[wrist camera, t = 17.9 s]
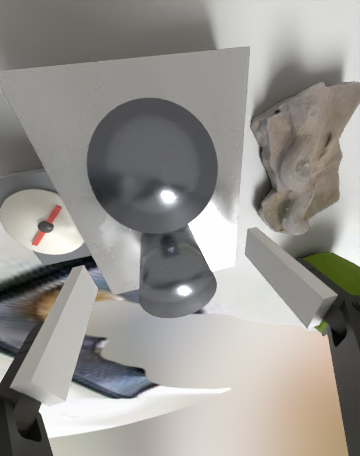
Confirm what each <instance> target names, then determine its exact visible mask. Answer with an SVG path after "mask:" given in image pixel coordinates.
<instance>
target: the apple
mask: <svg viewBox="0 0 360 456" xmlns="http://www.w3.org/2000/svg"><path fill="white" fill-rule="evenodd" d="M302 259H303V260H305V261H307V262H309V263H310V264H311V265H313V266H314V267H315V268H316V269H318V270H319V271H320V272H322V274H324V275H326V276H327V277H328V278H329V279H331V280H332V281H333V282H335V283H336V284H337V285H338V286H340V287H341V288H342V289H344V290H345V291H346V292H348V293H349V294H351V295H357V296H360V267H359V266H357V265H356V264H354V263H352V262H350V261H348V260H346V259H344V258H342V257H340V256H338V255H336V254H334V253H329V252H322V253H317V254H313V255H310V256H306V257H304V258H302ZM326 326H327V323H326V322H325V321H324V320H322V321H321V323H320V325H318V326H315V328H316V329H317V330H318V331H320V332H321V333H322V332H323V330H324V329H325V327H326ZM326 334H327V335H328V333H326Z"/></svg>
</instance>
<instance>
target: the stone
mask: <svg viewBox="0 0 360 456" xmlns="http://www.w3.org/2000/svg"><path fill="white" fill-rule="evenodd" d="M359 103H360V82H339V83H336V84H334V85H331V86H327V87H326V86H325V83H324V82H318V83H316V84H314V85H312V86H311V87H309V88H307V89H305V90H303V91H301V92H300V93H298V94H297V95H296V96H291V97H288V98H286V99H284V100H282V101H280V102H279V103H277V104H275V105H273V106H272V107H270V108H269V109H267V110H266V111H264V112H263V113H262V114H260V115H258V116H256V117H255V118H254V119H253V121H252V124H251V126H250V127H251V130H252V132H253V134H254V136H255V138H256V140H257V142H258V144H259V145H260V146H261V148H262V152H261V156H262V163H263V165H264V167H265V169H266V171H267V175H268V176H269V178H270V180H271V184H272V189H271V190H270V192H269V194H268V195H267V196H266V197H265V198H264V199H263V201H262V202H261V208H260V209H259V212H258V215H259V217H260V218H261V219H262V220H263V221H264V222H265V223H266V224H267V225H268V226H269V227H270V229H271V230H273V231H274V232H279V233H288V234H293V235H301V234H304V233H306V232H307V231H308V230H309V224H308V220H309V219H310V218H311V217H313V216H314V215H315V214H317V213H318V212H321V211H322V210H324V209H326V208H328V207H329V206H331V205H333V204H334V203H336V202H337V201H338V200H339V196H340V193H339V174H338V169H339V165H340V161H341V159H342V152H341V149H340V144H339V138H340V136H341V134H342V132H343V130H344V128H345V126H346V125H347V123H348V121H349V120H350V118H351V116H352V115H353V113H354V111H355V110H356V108H357V107H358V105H359Z"/></svg>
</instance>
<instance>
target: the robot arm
mask: <svg viewBox="0 0 360 456" xmlns="http://www.w3.org/2000/svg"><path fill="white" fill-rule="evenodd" d="M245 255H246V256H247V258H248V259H249V260H250V261H251V262H252V264H253V265H254V266H255V267H256V268H257V270H258V271H259V272H260V273H261V274H262V275H263V277H264V278H265V279H266V280H267V281H268V283H269V284H270V285H271V286H272V287H273V289H274V290H275V291H276V292H277V293H278V295H279V296H280V297H281V298H282V299H283V300H284V302H285V303H286V304H287V305H288V306H289V308H290V309H291V310H292V311H293V312H294V314H295V315H296V316H297V317H298V318H299V319H300V321H301V322H302V323H303V324H304V325H305V327H306V328H307V329H308V328H311V327H315V326H318V325H320V323H321V321H322V320H324V321H325V322H326V323H327V326H326V327H325V329H324V330H323V332H322V335H323V336H325V335H326V333H328V338H329V344H330V350H331V355H332V362H333V367H334V373H335V379H336V384H337V390H338V395H339V402H340V407H341V413H342V419H343V425H344V430H345V436H346V442H347V447H348V453H349V456H360V296H357V295H351V294H349V293H348V292H346V291H345V290H344V289H342V288H341V287H340V286H338V285H337V284H336V283H335V282H333V281H332V280H331V279H329V278H328V277H327V276H326V275H324V274H322V272H320V271H319V270H318V269H316V268H315V267H314V266H313V265H311V264H310V263H309V262H307V261H305V260H303V259H301V258H299V257H298V258H293V257H292V256H290V255H289V254H288V253H287V252H286V251H284V250H283V249H282V248H281V247H280V246H278V245H277V244H276V243H275V242H273V241H272V240H271V239H270V238H269V237H267V236H266V235H265V234H264V233H263V232H261V231H260V230H259V229H258V228H257V227H255V228H250V229H248V231H247V239H246V248H245ZM97 291H98V288H97V286H96V285H95V283H94V281H93V280H92V278H91V277H90V275H89V273H88V272H87V270H86V268H85V267H84V265H83V266H78V267H74V268H73V269H72V271H71V272H70V274H69V276H68V278H67V280H66V282H65V284H64V286H63V288H62V289H61V291H60V293H59V295H58V297H57V299H56V301H55V303H54V305H53V306H52V308H51V310H50V312H49V314H48V316H47V318H46V320H45V321H42V322H38V323H37V325H36V326H35V327H34V328H33V329H32V330H31V331H30V332H29V334H28V336H27V338H26V339H25V341H24V343H23V346H21V348H20V350H19V352H18V355H16V357H15V358H14V360H13V362H12V364H11V365H10V367H9V369H8V371H7V372H6V374H5V376H4V378H3V379H2V381H1V383H0V456H53V453H52V450H51V447H50V444H49V440H48V437H47V433H46V430H45V426H44V423H43V420H42V416H41V414H40V413H39V412H38V411H39V408H40V406H41V403H43V404H45V405H47V406H51V405H54V404H57V403H61V402H64V401H65V400H66V397H67V393H68V390H69V386H70V383H71V380H72V376H73V373H74V369H75V366H76V363H77V359H78V356H79V352H80V349H81V346H82V342H83V339H84V335H85V332H86V329H87V325H88V322H89V318H90V315H91V312H92V308H93V305H94V301H95V298H96V295H97Z"/></svg>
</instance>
